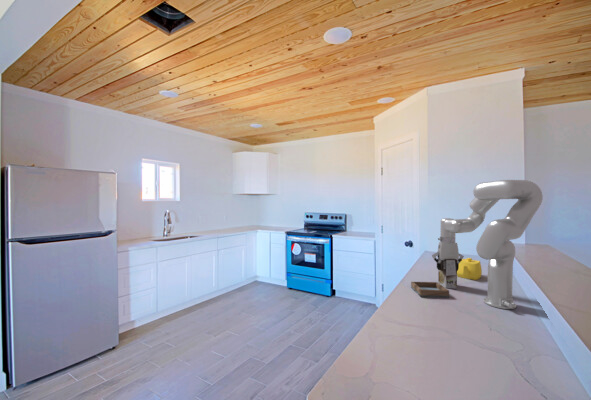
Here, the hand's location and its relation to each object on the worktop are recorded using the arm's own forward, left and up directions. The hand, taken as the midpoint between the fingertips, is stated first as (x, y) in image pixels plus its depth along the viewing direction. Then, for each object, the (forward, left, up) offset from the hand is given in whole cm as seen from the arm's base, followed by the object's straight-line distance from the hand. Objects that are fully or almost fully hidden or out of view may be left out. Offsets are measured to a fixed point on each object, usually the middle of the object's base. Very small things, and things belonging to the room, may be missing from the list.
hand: (447, 269), depth 159 cm
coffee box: (0, 0, -9) cm, 9 cm away
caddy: (-12, +15, -9) cm, 21 cm away
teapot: (+19, -22, -10) cm, 31 cm away
